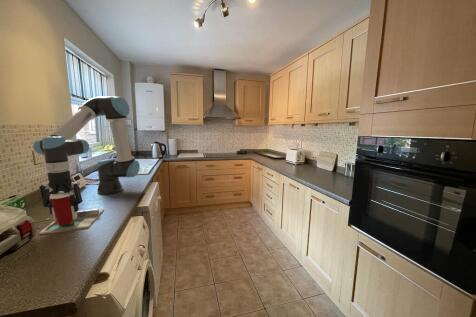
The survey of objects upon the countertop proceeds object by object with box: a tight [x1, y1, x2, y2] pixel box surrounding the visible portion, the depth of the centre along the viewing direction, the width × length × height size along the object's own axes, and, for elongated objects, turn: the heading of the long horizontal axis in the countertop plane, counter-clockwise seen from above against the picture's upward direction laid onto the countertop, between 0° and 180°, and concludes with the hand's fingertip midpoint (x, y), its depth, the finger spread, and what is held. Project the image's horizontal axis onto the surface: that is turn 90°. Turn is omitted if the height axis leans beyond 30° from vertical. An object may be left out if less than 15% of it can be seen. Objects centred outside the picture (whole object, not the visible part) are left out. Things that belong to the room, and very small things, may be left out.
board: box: [38, 209, 105, 235], centre depth 97 cm, size 20×18×1 cm
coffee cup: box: [49, 190, 74, 226], centre depth 92 cm, size 8×8×15 cm
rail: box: [77, 208, 100, 218], centre depth 100 cm, size 2×18×3 cm, turn 106°
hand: (66, 219), depth 93 cm, fingers closed on coffee cup, 7 cm apart
